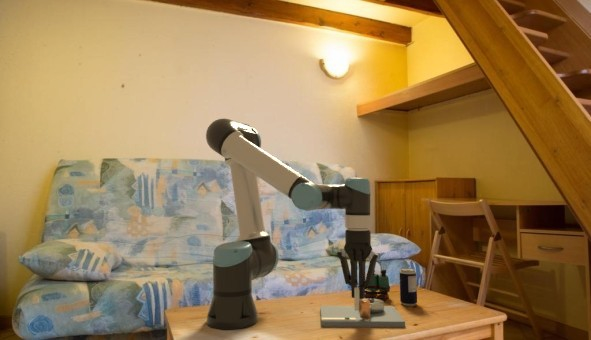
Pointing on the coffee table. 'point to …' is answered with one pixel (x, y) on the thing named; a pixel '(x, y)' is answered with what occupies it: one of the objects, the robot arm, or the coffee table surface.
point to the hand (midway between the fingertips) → (358, 309)
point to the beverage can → (408, 287)
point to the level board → (351, 317)
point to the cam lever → (370, 307)
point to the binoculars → (378, 286)
